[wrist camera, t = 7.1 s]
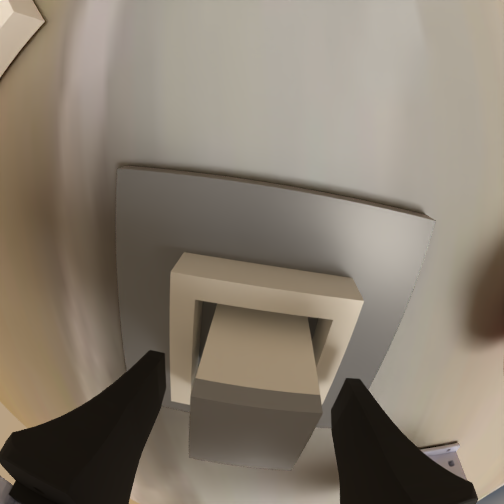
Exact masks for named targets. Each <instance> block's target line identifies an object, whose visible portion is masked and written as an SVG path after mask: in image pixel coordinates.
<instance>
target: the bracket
mask: <svg viewBox="0 0 504 504" xmlns="http://www.w3.org/2000/svg"><path fill="white" fill-rule="evenodd" d="M44 22H45V21H44V19H43V18H42V16H41V14H40V12H39V11H38V9H37V7H36V5H35V4H34V2H33V0H0V77H1V76H2V74H3V73H4V71H5V70H6V69H7V67H8V66H9V64H10V63H11V62H12V60H13V59H14V58H15V56H16V55H17V54H18V53H19V51H20V50H21V49H22V48H23V46H24V45H25V44H26V43H27V41H28V40H29V39H30V38H31V37H32V35H33V34H34V33H35V32H36V31H37V30H38V29H39V27H40V26H41V25H42V24H43V23H44Z"/></svg>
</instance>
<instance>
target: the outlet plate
mask: <svg viewBox="0 0 504 504" xmlns="http://www.w3.org/2000/svg"><path fill="white" fill-rule="evenodd" d="M435 222H436V221H435V220H434V219H432V218H430V217H429V216H427V215H425V214H421V213H417V212H413V211H408V210H404V209H400V208H396V207H392V206H387V205H383V204H379V203H374V202H369V201H365V200H360V199H355V198H351V197H346V196H341V195H336V194H331V193H326V192H320V191H315V190H310V189H304V188H298V187H293V186H287V185H281V184H275V183H269V182H262V181H256V180H249V179H242V178H235V177H228V176H221V175H213V174H205V173H197V172H188V171H179V170H170V169H160V168H150V167H138V166H124V167H120V168H117V183H116V266H117V285H118V300H119V312H120V323H121V332H122V341H123V349H124V357H125V364H126V371H128V370H129V369H130V368H131V367H132V366H133V365H134V364H135V363H136V362H138V361H139V360H140V359H141V358H142V357H143V356H144V355H145V354H146V353H147V352H148V351H149V350H153V351H158V352H162V353H165V370H166V391H165V394H164V398H163V401H162V405H161V406H163V407H168V408H172V409H176V410H181V411H186V412H190V396H191V392H192V389H193V385H194V382H195V378H196V375H197V371H198V368H199V364H200V361H201V357H202V354H203V350H204V347H205V344H206V340H207V337H208V333H209V330H210V326H211V323H212V320H213V316H214V313H215V310H216V306H217V303H218V304H224V305H230V306H236V307H243V308H249V309H256V310H263V311H269V312H276V313H284V314H291V315H299V316H306V317H308V322H309V328H310V334H311V340H312V346H313V352H314V358H315V364H316V371H317V377H318V384H319V390H320V397H321V404H322V411H323V414H322V416H321V418H320V420H319V422H318V424H317V426H316V427H315V428H331V408H332V406H333V404H334V402H335V400H336V398H337V396H338V394H339V392H340V390H341V388H342V386H343V384H344V381H345V379H346V378H356V379H360V380H361V381H362V382H363V384H364V385H365V386H366V388H367V389H369V387H370V385H371V384H372V382H373V380H374V378H375V376H376V374H377V372H378V370H379V368H380V366H381V364H382V362H383V360H384V358H385V356H386V353H387V351H388V349H389V347H390V345H391V343H392V340H393V338H394V336H395V334H396V331H397V329H398V327H399V325H400V322H401V320H402V317H403V315H404V313H405V310H406V308H407V305H408V303H409V300H410V298H411V295H412V292H413V290H414V287H415V284H416V282H417V279H418V276H419V273H420V270H421V267H422V264H423V261H424V258H425V255H426V252H427V249H428V246H429V243H430V240H431V236H432V233H433V229H434V226H435Z"/></svg>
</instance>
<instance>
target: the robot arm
mask: <svg viewBox="0 0 504 504" xmlns="http://www.w3.org/2000/svg"><path fill="white" fill-rule="evenodd" d="M165 391H166V370H165V353H162V352H158V351H153V350H149V351H148V352H147V353H146V354H145V355H144V356H143V357H142V358H141V359H140V360H139V361H138V362H136V363H135V364H134V365H133V366H132V367H131V368H130V369H129V370H128V371H127V372H126V373H124V374H123V375H122V376H121V377H120V378H119V379H118V380H116V381H115V382H114V383H113V384H111V385H110V386H109V387H108V388H106V389H105V390H104V391H102V392H101V393H100V394H98V395H97V396H95V397H94V398H93V399H91V400H90V401H88V402H86V403H85V404H83V405H82V406H80V407H78V408H76V409H74V410H72V411H71V412H69V413H67V414H65V415H63V416H61V417H58V418H56V419H54V420H51V421H49V422H46V423H44V424H41V425H38V426H35V427H32V428H28V429H24V430H21V431H17V432H13V433H12V434H11V435H10V437H9V438H8V439H7V441H6V442H5V444H4V446H3V448H2V449H1V451H0V463H1V465H2V466H3V467H4V468H5V469H6V470H7V471H8V473H9V474H10V475H11V476H12V477H13V478H14V479H15V480H16V481H15V483H14V485H12V484H11V483H9V482H8V481H7V480H5V479H4V478H2V477H1V476H0V504H129V499H130V494H131V490H132V486H133V482H134V478H135V474H136V471H137V467H138V463H139V460H140V457H141V454H142V451H143V449H144V446H145V444H146V442H147V439H148V437H149V434H150V432H151V430H152V427H153V425H154V423H155V420H156V418H157V416H158V413H159V411H160V408H161V405H162V401H163V398H164V394H165ZM331 428H332V436H333V442H334V448H335V454H336V460H337V466H338V472H339V480H340V504H476V502H477V500H478V497H477V494H476V492H475V489H474V486H473V484H472V483H471V482H469V481H467V479H466V476H465V473H464V471H463V468H462V465H461V463H460V460H459V458H458V455H457V453H456V451H457V450H458V448H459V447H460V444H459V443H455V444H450V445H444V446H439V447H433V448H427V449H418V448H417V447H416V446H415V445H414V444H413V443H412V442H411V441H410V440H409V439H408V438H407V437H406V436H405V435H404V434H403V433H402V432H401V431H400V430H399V429H398V427H397V426H396V425H395V424H394V423H393V422H392V420H391V419H390V418H389V417H388V416H387V414H386V413H385V412H384V410H383V409H382V408H381V407H380V405H379V404H378V403H377V401H376V400H375V399H374V397H373V396H372V394H371V393H370V392H369V390H368V389H367V388H366V386H365V385H364V384H363V382H362V381H361V380H360V379H356V378H346V379H345V381H344V384H343V386H342V388H341V390H340V392H339V394H338V396H337V398H336V400H335V402H334V404H333V406H332V408H331Z"/></svg>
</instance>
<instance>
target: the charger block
mask: <svg viewBox="0 0 504 504" xmlns="http://www.w3.org/2000/svg"><path fill="white" fill-rule="evenodd" d="M322 414H323V411H322V404H321V397H320V390H319V384H318V377H317V371H316V364H315V358H314V352H313V346H312V340H311V334H310V328H309V322H308V317H306V316H299V315H291V314H284V313H276V312H269V311H263V310H256V309H249V308H243V307H236V306H230V305H224V304H218V303H217V306H216V310H215V313H214V316H213V320H212V323H211V326H210V330H209V333H208V337H207V340H206V344H205V347H204V350H203V354H202V357H201V361H200V364H199V368H198V371H197V375H196V378H195V382H194V385H193V389H192V392H191V396H190V424H189V458H193V459H198V460H203V461H209V462H215V463H221V464H227V465H234V466H242V467H251V468H260V469H272V470H287V471H291V470H292V468H293V467H294V465H295V463H296V462H297V460H298V458H299V456H300V455H301V453H302V451H303V449H304V448H305V446H306V444H307V442H308V440H309V439H310V437H311V435H312V433H313V431H314V429H315V427H316V426H317V424H318V422H319V420H320V418H321V416H322Z"/></svg>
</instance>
